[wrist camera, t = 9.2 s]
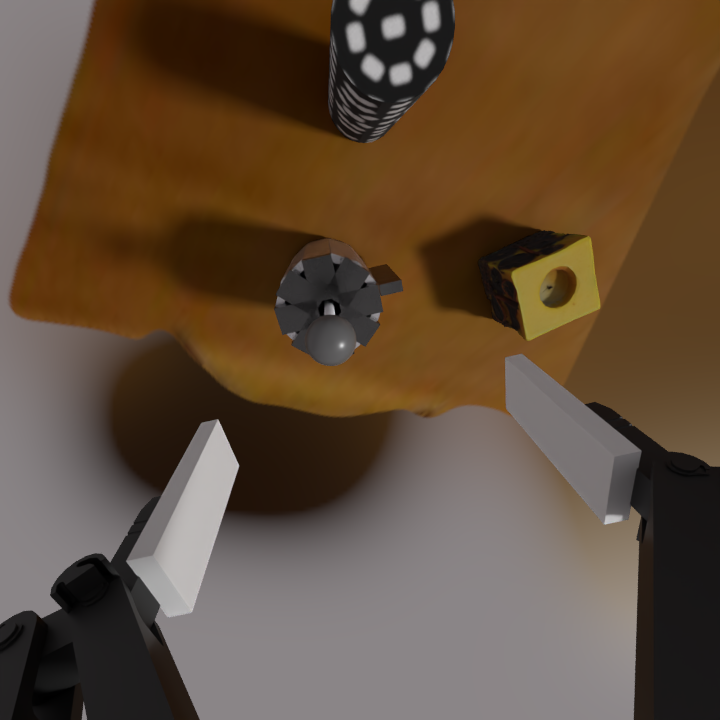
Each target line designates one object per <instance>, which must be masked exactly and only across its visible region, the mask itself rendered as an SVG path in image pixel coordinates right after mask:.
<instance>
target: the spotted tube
mask: <svg viewBox="0 0 720 720" xmlns="http://www.w3.org/2000/svg"><path fill="white" fill-rule="evenodd" d="M454 29H455V10H454V4H453V0H333V4H332V10H331V31H330V60H329V88H328V105H329V111H330V114H331V117H332V120H333V122H334V124H335V126H336V127H337V128H338V130H339V131H340V132H341V133H342V134H343V135H344V136H345V137H347V138H349V139H351V140H353V141H356V142H361V143H367V142H372V141H375V140H377V139H379V138H381V137H382V136H383V135H385V133H386V132H387V131H388V130H389V129H390V128H391V127H392V126H393V125H394V124H395V123H396V122H397V121H398V120H399V119H400V118H401V117H402V116H403V114H404V113H405V112H406V111H407V110H408V109H409V108H410V107H411V106H412V105H413V104H414V103H415V102H416V101H417V100H418V99H419V97H420V96H421V95H422V94H423V93H424V92H425V91H426V90H427V89H428V88H429V87H430V86H431V85H432V84H433V83H434V82H435V80H436V79H437V77H438V76H439V74H440V73H441V71H442V70H443V68H444V66H445V64H446V61H447V59H448V57H449V54H450V50H451V47H452V43H453V37H454Z"/></svg>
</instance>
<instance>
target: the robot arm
mask: <svg viewBox="0 0 720 720" xmlns="http://www.w3.org/2000/svg"><path fill="white" fill-rule="evenodd" d="M505 374H506V409H507V410H508V411H509V412H510V414H511V415H512V416H513V417H514V418H515V419H516V421H517V422H518V423H519V424H520V425H521V427H522V428H523V429H524V430H525V431H526V433H527V434H528V435H529V436H530V437H531V438H532V439H533V441H534V442H535V443H536V444H537V445H538V447H539V448H540V449H541V450H542V451H543V453H544V454H545V455H546V456H547V457H548V459H549V460H550V461H551V462H552V463H553V465H555V467H556V468H557V469H558V470H559V472H560V473H561V474H562V475H563V476H564V478H565V479H566V480H567V481H568V482H569V483H570V485H571V486H572V487H573V488H574V489H575V491H576V492H577V493H578V494H579V495H580V496H581V498H582V499H583V500H584V501H585V502H586V504H587V505H588V506H589V507H590V508H591V510H592V511H593V512H594V513H595V514H596V515H597V517H598V518H599V519H600V520H601V521H602V523H603V524H604V525H605V524H609V523H614V522H618V521H623V520H628V518H629V514H630V508H631V506H632V507H633V508H634V509H635V510H636V511H637V512H638V513H639V514H640V515H641V520H640V525H639V530H638V534H637V540H638V541H639V567H638V568H639V569H638V570H639V571H638V600H637V601H638V602H637V632H636V665H635V698H634V720H720V467H710V466H709V465H708V464H707V463H705V462H704V461H702V460H700V459H698V458H696V457H694V456H691V455H687V454H684V453H677V452H668V451H667V450H665V449H664V448H663V447H661V446H660V445H659V444H657V443H656V442H655V441H653V440H652V439H651V438H649V437H648V436H647V435H645V434H644V433H643V432H641V431H640V430H639V429H637V428H636V427H635V426H632V424H631V423H629V422H628V421H627V420H625V419H623V418H622V417H621V416H620V415H619V414H617V413H616V412H615V411H613V410H612V409H610V408H608V407H606V406H603V405H601V404H599V403H596V402H593V403H589V404H583V403H582V402H581V401H579V400H578V399H577V398H576V397H575V396H573V395H572V394H571V393H570V392H568V391H567V390H566V389H565V388H563V387H562V386H561V385H560V384H559V383H557V382H556V381H555V380H554V379H552V378H551V377H550V376H549V375H547V374H546V373H545V372H544V371H543V370H541V369H540V368H539V367H538V366H536V365H535V364H534V363H533V362H531V361H530V360H529V359H528V358H526V357H525V356H524V355H523V354H519V355H514V356H510V357H505ZM238 467H239V465H238V463H237V460H236V458H235V456H234V454H233V451H232V449H231V447H230V445H229V443H228V440H227V438H226V436H225V434H224V432H223V429H222V427H221V425H220V422H219V420H213V421H208V422H203V423H201V425H200V426H199V428H198V430H197V432H196V434H195V436H194V438H193V439H192V441H191V443H190V445H189V447H188V448H187V450H186V452H185V454H184V456H183V458H182V459H181V461H180V463H179V465H178V467H177V469H176V471H175V472H174V474H173V476H172V478H171V480H170V481H169V483H168V485H167V487H166V489H165V491H164V493H163V494H162V496H159V497H154V498H152V499H151V501H149V502H148V504H146V506H145V507H144V508H143V509H142V510H141V511H140V513H139V515H138V516H137V518H136V520H135V522H134V525H132V526H131V528H130V530H129V532H128V536H126V537H125V538H124V540H123V542H122V544H121V545H120V547H119V549H118V550H117V552H116V554H115V555H114V557H113V559H112V561H111V562H109V561H108V560H107V559H106V557H105V556H104V555H103V554H92V555H88V556H85V557H84V558H82V559H80V560H78V561H76V562H75V563H73V564H72V565H71V566H70V567H68V568H67V569H66V570H65V571H64V572H63V573H62V574H61V575H60V576H59V577H58V578H57V580H56V581H55V583H54V585H53V587H52V589H51V594H50V596H51V597H52V598H53V599H54V600H55V601H56V602H57V603H58V604H59V605H60V606H61V607H62V609H60V610H58V611H56V612H54V613H52V614H50V615H48V616H46V617H44V618H42V619H41V618H40V617H39V616H38V615H37V614H36V613H35V612H33V611H23V612H21V613H19V614H16V615H14V616H12V617H11V618H9V619H8V620H6V621H5V622H3V623H2V624H0V720H82V710H83V702H84V705H85V709H86V715H87V720H200V719H199V717H198V715H197V712H196V710H195V708H194V706H193V703H192V701H191V699H190V696H189V694H188V692H187V690H186V687H185V685H184V683H183V680H182V678H181V676H180V673H179V671H178V669H177V667H176V664H175V662H174V660H173V657H172V655H171V653H170V650H169V648H168V646H167V644H166V642H165V639H164V637H163V635H162V632H161V630H160V628H159V626H158V624H157V623H156V622H155V618H156V615H157V613H158V610H159V608H160V607H161V609H162V610H163V611H164V613H165V614H166V616H167V617H168V618H169V617H173V616H178V615H182V614H187V613H192V611H193V607H194V604H195V601H196V598H197V595H198V592H199V589H200V586H201V582H202V580H203V576H204V573H205V570H206V567H207V564H208V561H209V557H210V555H211V551H212V548H213V545H214V542H215V539H216V536H217V533H218V530H219V526H220V523H221V520H222V517H223V514H224V511H225V508H226V504H227V501H228V498H229V495H230V492H231V489H232V485H233V483H234V480H235V477H236V473H237V470H238Z"/></svg>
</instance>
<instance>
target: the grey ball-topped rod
mask: <svg viewBox="0 0 720 720" xmlns="http://www.w3.org/2000/svg"><path fill="white" fill-rule="evenodd" d="M333 265H334V269H335V271H336V269H337V268H338V266H339V264H336V263H333ZM300 274H301V275H303V276H305V272H304V270H303V271H302V272H301V273H300ZM305 277H306V276H305ZM338 307H340V305H339V303H338V302H336V301H334V300H333V299H328V300H323V301H322V302H321V304H320V305H319V308H322V309H324V316H321V317H319V318H317V319H315V320H314V321H313V322H312V323H311V324H310V326H309V327H308V329H307V332H306V335H305V345H306V349H307V351H308V353H309V355H310V356H311V357H312V358H313V359H314V360H315V361H316V362H318V363H320V364H323V365H327V366H335V365H339V364H341V363H343V362H345V361H346V360H348V359H349V358H350V356H351V355H352V354H353V352H354V350H355V347H356V334H355V331H354V329H353V327H352V325H351V324H350V323H349V322H348V321H347V320H346V319H344V318H342V317H340V316H337V315H335V310H334V309H335V308H338Z"/></svg>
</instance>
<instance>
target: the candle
mask: <svg viewBox="0 0 720 720" xmlns="http://www.w3.org/2000/svg"><path fill="white" fill-rule="evenodd" d="M478 265H479V268H480V272H481V275H482V281H483V285H484V287H485V293H486V295H487V299H490V301H491V307H492V317H493V319H494V320H495V321H497V322H499V323H502V325H504V327H509V328H513V329H515V330H516V331H518V333H519V335H521V336H522V337H523V338H524V339H525V340H527V341H529V340H532V339H534V338H536V337H538V336H540V335H542V334H544V333H547V332H549V331H551V330H553V329H555V328H557V327H559V326H561V325H564V324H566V323H568V322H570V321H573V320H575V319H577V318H579V317H582V316H584V315H586V314H589V313H591V312H594V311H596V310H598V309H600V300H599V293H598V288H597V282H596V276H595V268H594V257H593V251H592V243H591V238H590V237H589V236H585V235H578V234H566V235H565V234H559V233H555V232H553V231H545V230H544V231H540V232H538V233H535V234H533V235H532V236H527V237H525V238H524V239H523V240H519V241H518V242H515V243H513V244H510V245H508V246H507V247H504V248H503V249H500V250H498V251H497V252H494V253H492V254H489V255H487V256H485V257H481V259H480V260H479V261H478Z"/></svg>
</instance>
